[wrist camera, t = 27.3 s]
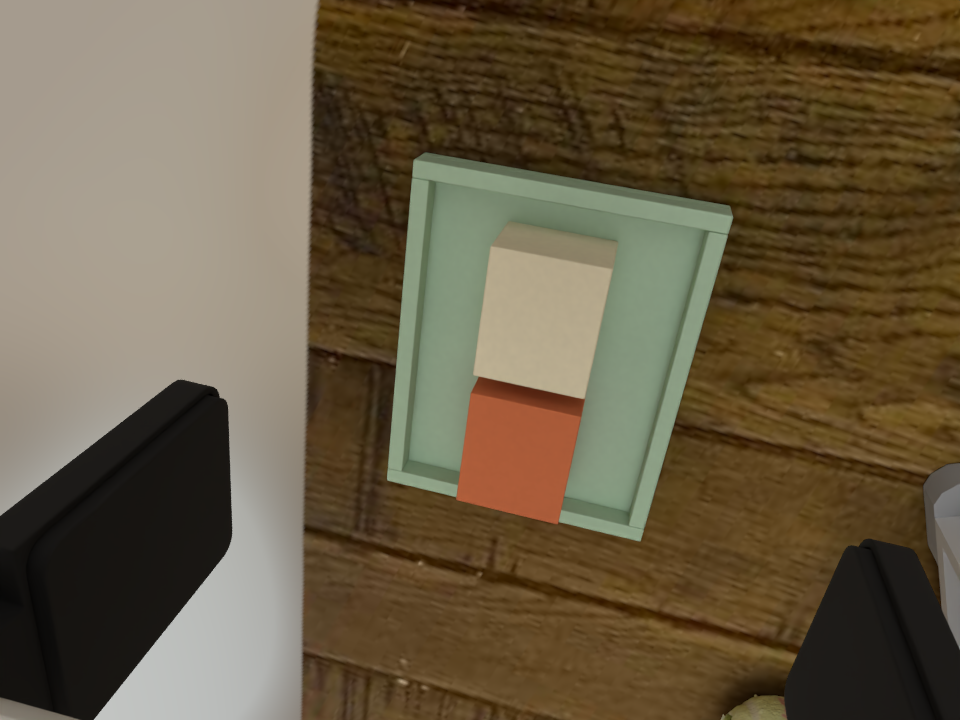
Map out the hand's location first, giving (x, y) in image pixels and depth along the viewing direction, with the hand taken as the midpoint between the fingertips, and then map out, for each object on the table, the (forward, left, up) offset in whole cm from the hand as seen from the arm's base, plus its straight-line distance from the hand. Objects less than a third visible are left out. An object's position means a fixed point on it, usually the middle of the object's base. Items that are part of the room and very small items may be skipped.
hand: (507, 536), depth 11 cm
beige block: (+1, -5, -24) cm, 24 cm away
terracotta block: (+4, -11, -24) cm, 27 cm away
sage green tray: (+3, -8, -24) cm, 26 cm away
